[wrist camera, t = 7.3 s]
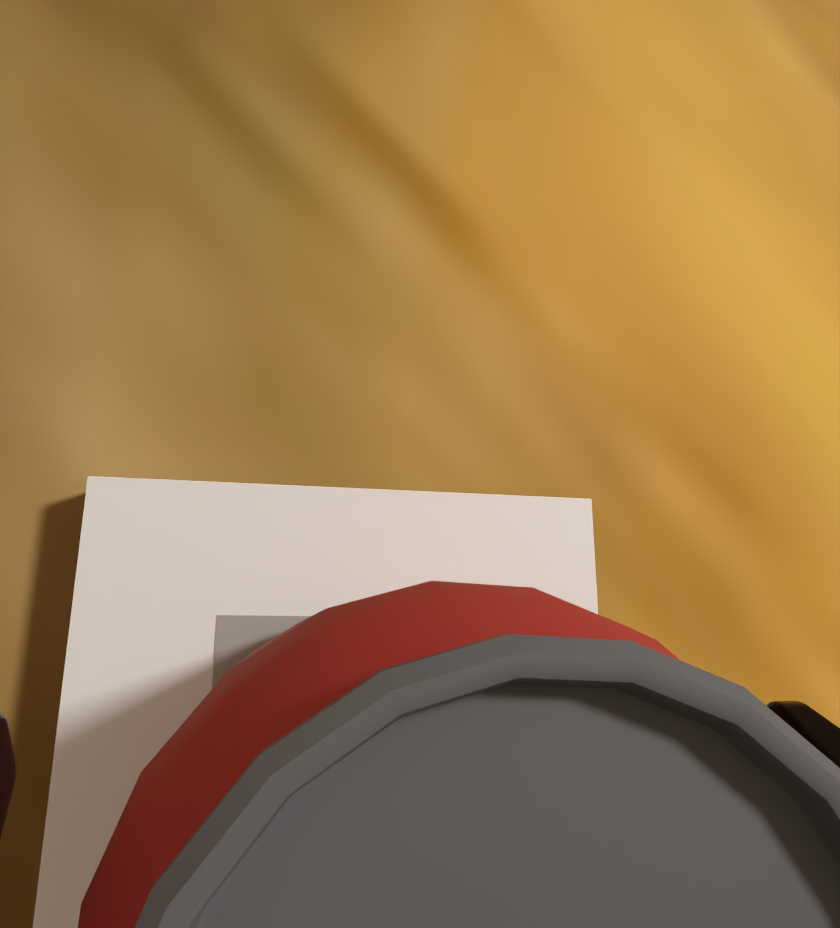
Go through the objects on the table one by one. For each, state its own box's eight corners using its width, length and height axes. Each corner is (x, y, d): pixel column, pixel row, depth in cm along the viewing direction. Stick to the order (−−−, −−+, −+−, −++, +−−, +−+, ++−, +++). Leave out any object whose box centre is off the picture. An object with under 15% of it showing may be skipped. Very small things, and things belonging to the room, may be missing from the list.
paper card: (604, 1128, 16) (630, 1166, 15) (15, 1207, 14) (-9, 1260, 12) (572, 507, 19) (591, 498, 18) (100, 487, 17) (87, 475, 16)
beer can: (127, 839, 14) (-461, 1660, 3) (304, 557, 16) (376, 369, 5) (406, 1000, 15) (891, 2318, 3) (546, 704, 17) (1158, 857, 5)
